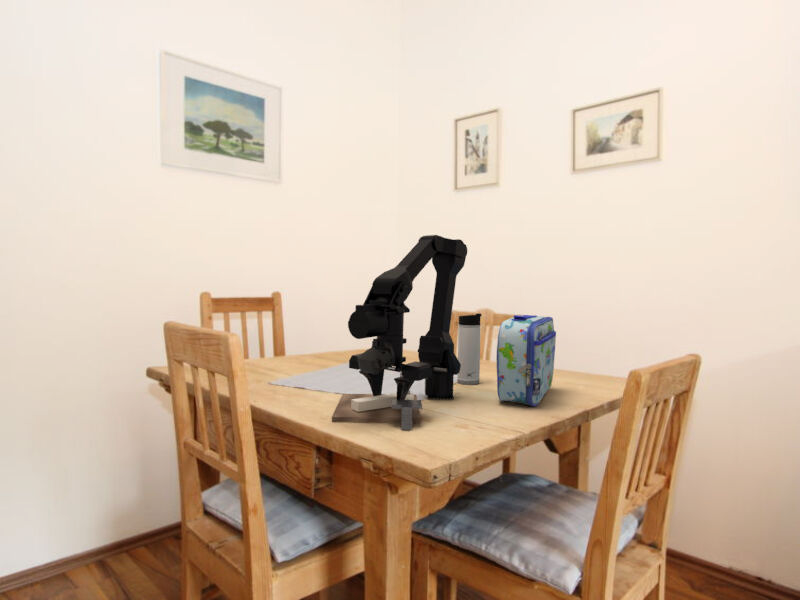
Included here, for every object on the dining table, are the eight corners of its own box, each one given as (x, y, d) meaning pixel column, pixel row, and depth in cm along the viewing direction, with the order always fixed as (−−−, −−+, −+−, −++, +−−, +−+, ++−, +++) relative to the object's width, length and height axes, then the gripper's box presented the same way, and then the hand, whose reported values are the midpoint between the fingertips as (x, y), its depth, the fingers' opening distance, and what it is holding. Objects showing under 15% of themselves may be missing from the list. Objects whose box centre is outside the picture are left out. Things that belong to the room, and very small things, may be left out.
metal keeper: (420, 421, 100) (420, 400, 100) (422, 430, 94) (422, 407, 94) (391, 421, 100) (391, 399, 100) (391, 429, 94) (391, 407, 94)
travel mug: (473, 386, 136) (475, 314, 135) (453, 383, 140) (454, 312, 139) (484, 382, 141) (485, 313, 140) (464, 379, 145) (465, 312, 144)
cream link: (406, 399, 114) (406, 391, 114) (417, 403, 111) (417, 394, 111) (350, 408, 105) (350, 398, 105) (359, 412, 102) (359, 402, 102)
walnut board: (416, 398, 120) (416, 382, 120) (420, 422, 99) (421, 403, 99) (342, 397, 120) (342, 382, 120) (331, 421, 99) (331, 402, 99)
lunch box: (537, 411, 110) (539, 317, 109) (490, 405, 115) (492, 315, 114) (557, 390, 133) (559, 312, 132) (518, 385, 138) (519, 311, 137)
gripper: (332, 333, 105) (331, 404, 106) (404, 343, 94) (401, 423, 96) (365, 328, 114) (364, 394, 115) (434, 337, 104) (431, 410, 105)
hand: (388, 404), depth 108 cm, fingers open, 5 cm apart
